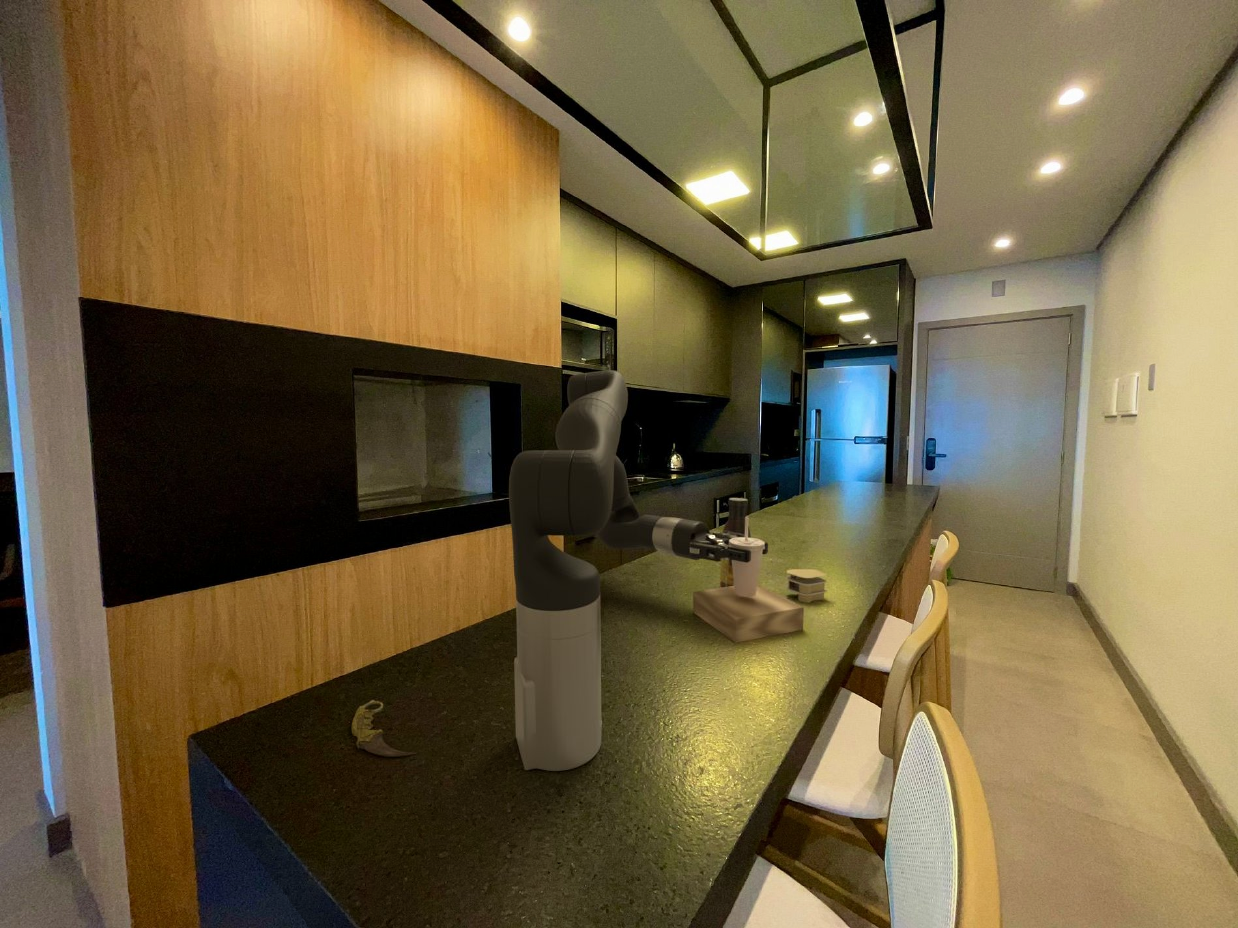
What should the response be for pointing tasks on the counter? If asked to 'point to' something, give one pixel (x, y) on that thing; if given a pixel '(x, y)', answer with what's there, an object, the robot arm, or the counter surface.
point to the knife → (372, 733)
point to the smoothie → (747, 564)
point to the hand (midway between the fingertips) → (758, 552)
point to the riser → (747, 613)
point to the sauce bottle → (738, 526)
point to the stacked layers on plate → (806, 584)
